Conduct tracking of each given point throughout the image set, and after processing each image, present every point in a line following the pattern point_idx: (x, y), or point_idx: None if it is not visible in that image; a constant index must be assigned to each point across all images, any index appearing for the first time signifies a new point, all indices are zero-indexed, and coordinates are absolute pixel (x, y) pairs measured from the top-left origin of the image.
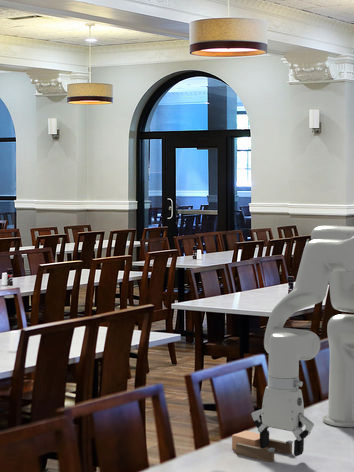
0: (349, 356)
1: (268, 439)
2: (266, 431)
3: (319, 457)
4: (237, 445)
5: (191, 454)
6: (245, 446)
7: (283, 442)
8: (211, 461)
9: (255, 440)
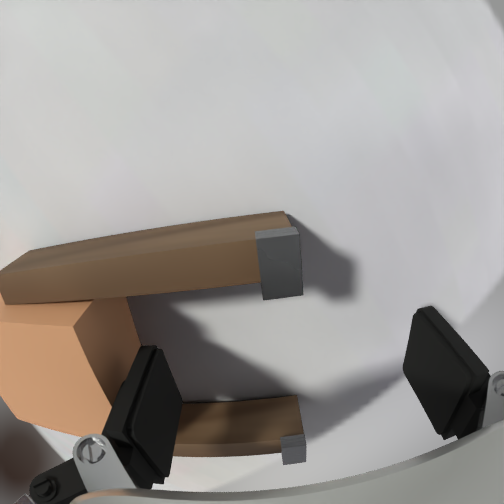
0: None
1: (151, 387)
2: (139, 457)
3: (445, 140)
4: None
5: (64, 454)
6: None
7: (215, 271)
8: None
9: None
